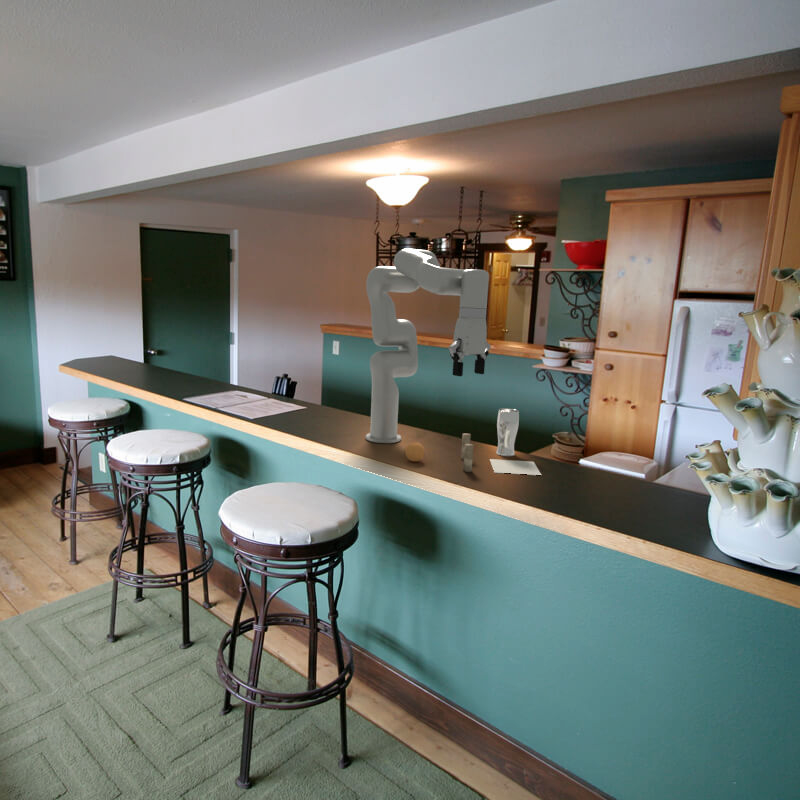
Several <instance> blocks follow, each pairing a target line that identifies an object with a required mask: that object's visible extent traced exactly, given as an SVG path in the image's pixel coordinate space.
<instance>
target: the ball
mask: <svg viewBox="0 0 800 800" xmlns="http://www.w3.org/2000/svg"><path fill="white" fill-rule="evenodd" d="M425 453H426V451H425V447H424V446H423V445H422V444H421V443H419V442H417V441H415V442H411V443H409V444H408V445H407V446H406V449H405V456H406V458H407V459H408V460H409V461H410V462H413V463H415V462H416V463H417V462H419V461H421V460H422V459H423V458H424V457H425Z"/></svg>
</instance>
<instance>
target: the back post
mask: <svg viewBox="0 0 800 800" xmlns="http://www.w3.org/2000/svg"><path fill="white" fill-rule="evenodd" d="M471 435H472V434H471V433H462V436H461V438H462V439H461V449H460V459H461V460H464V448H465V444H471Z"/></svg>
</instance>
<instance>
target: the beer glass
mask: <svg viewBox="0 0 800 800" xmlns="http://www.w3.org/2000/svg"><path fill="white" fill-rule="evenodd" d="M519 413H520V411H519V410H518V409H516V408H507V407H506V408H504V407H502V408H499V409H498V413H497V420H496V422H497V423H496V428H497V430H496V431H497V441H498V442H497V449H496V452H495V453H496V455H498V456H500V455H501V457H513V456H515V443H516V437H517V434H518V430H519V422H520V414H519Z"/></svg>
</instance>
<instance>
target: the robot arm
mask: <svg viewBox="0 0 800 800" xmlns="http://www.w3.org/2000/svg"><path fill="white" fill-rule="evenodd" d="M393 265H394V266H391V265H390V266H389V265H388V266H386V265H381V266H375V267H374V268H372V269H371V270H370V271H369V272H368V275H367V278H366V283H365V285H366V287H365V288H366V294H367V298H368V302H369V305H370V318H371V331H372V332H371V333H372V340H373V342H374V344H375V345H376V346H378V347H397V348H398V350H393V349H389V350H387V349H386V350H379V351H377V352H374V353H373V354H372V355H371V357H370V360H369V369H370V376H371V399H370V400H371V401H370V402H371V404H370V405H371V406H370V430H369V432H368V433H366V434H365V440H367V441H369V442H372V443H377V444H378V443H379V444H392V443H398V442H400V441H402V435H400V434H398V417H399V416H398V415H399V398H400V397H399V396H400V395H399V394H400V392H399V387H398V384H397V383H396V381H395V378H407V377H408V378H409V377H412V376H414V375H415V374H416V373H417V371H418V367H419V354H418V337H417V335H418V334H417V330H416V326H415V325H414V323H413V322H412V321H410V320H408V319H402V318H401V319H398V318H397V316H396V315H397V313H396V306H395V303H394V301H393V299H392V298H391V297H392V296H390V295H389V294H388V293H400V294H401V293H405V294H410V293H413V292H415V291H417V290H419V289H420V288H422V289H423V290H425V291H428V292H430V293H431V294H435V295H439V296H459V313H458V318H457V320H456V323H455V328H454V332H453V340H452V343H451V344H450V345H449V346H448V350H449V355H450V357H451V361H452V362H453V364H452V376H456V377H463V375H464V374H463V373H464V362H463V360H464V358H465V357H466V356H475V358H476V359H475V360H474V369H473V370H474V373H475V374H478V375H484V374H485V367H486V366H485V365H486V361H487V357H488V356H489V354H490V353H489V352H490V350H491V347H492V345H491V344H490V343H489V342H488V341H487V336H488V332H487V327H488V326H487V308H488V307H487V305H488V293H489V279H490V276H489V275H490V274H489V272H488V271H487V270H484V269H476V268H475V269H474V268H473V269H460V268H459V269H458V268H451V267H450V268H449V267H441V265H440V263H439V261H438V258H437V256H436V255H435V253H434V252H432V251H430V250H426V249H418V248H417V249H416V248H403V249H400V250H399V251H397V252H396V254H395V256H394V258H393Z"/></svg>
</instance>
